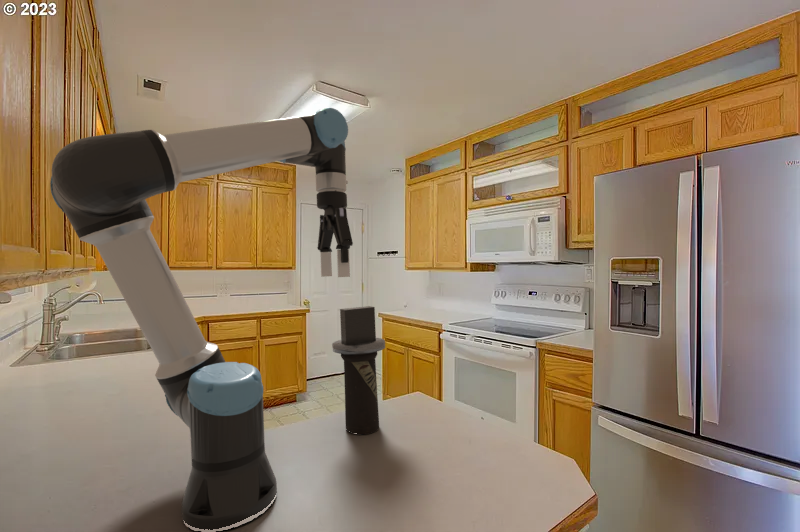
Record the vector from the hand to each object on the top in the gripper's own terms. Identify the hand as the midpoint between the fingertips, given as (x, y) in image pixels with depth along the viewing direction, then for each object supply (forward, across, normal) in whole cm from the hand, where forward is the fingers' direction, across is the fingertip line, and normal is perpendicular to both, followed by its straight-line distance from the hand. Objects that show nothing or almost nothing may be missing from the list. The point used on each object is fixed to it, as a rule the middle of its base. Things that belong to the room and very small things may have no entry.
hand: (334, 276), depth 98 cm
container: (+38, -4, -4) cm, 39 cm away
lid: (+18, -4, -4) cm, 19 cm away
